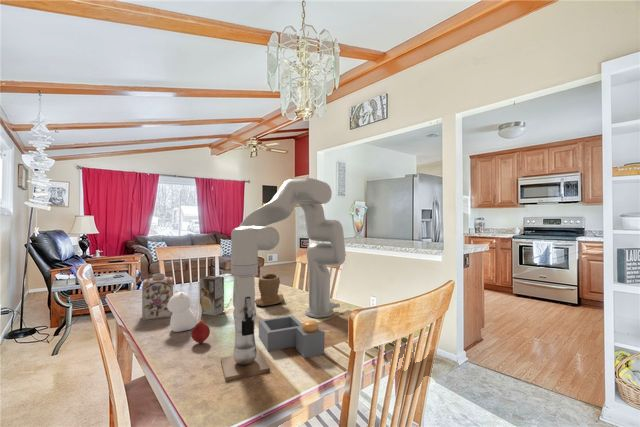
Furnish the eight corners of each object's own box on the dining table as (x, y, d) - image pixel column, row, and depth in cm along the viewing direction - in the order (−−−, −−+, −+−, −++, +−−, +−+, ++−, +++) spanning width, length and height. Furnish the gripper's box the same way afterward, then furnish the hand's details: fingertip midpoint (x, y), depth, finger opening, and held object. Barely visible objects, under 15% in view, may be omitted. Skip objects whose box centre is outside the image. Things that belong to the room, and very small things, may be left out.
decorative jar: (173, 309, 140) (173, 271, 140) (173, 316, 129) (173, 275, 130) (144, 312, 135) (144, 273, 135) (141, 321, 124) (141, 277, 124)
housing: (300, 329, 114) (300, 311, 114) (324, 353, 94) (324, 331, 94) (258, 336, 108) (258, 317, 108) (275, 364, 88) (275, 340, 88)
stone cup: (261, 309, 139) (261, 277, 139) (252, 303, 149) (252, 273, 149) (290, 304, 147) (290, 274, 147) (280, 299, 157) (280, 270, 157)
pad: (260, 353, 94) (260, 350, 94) (269, 371, 83) (269, 368, 83) (220, 361, 90) (220, 357, 90) (225, 381, 79) (225, 377, 79)
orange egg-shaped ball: (314, 337, 99) (314, 319, 99) (320, 343, 95) (320, 324, 95) (300, 340, 97) (300, 321, 97) (305, 346, 93) (305, 326, 93)
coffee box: (224, 311, 136) (224, 276, 136) (215, 316, 130) (215, 279, 130) (209, 309, 139) (209, 275, 140) (198, 313, 133) (198, 277, 134)
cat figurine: (164, 329, 115) (164, 290, 115) (197, 321, 123) (197, 285, 123) (171, 336, 108) (170, 295, 108) (205, 327, 116) (205, 289, 116)
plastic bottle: (251, 368, 83) (251, 297, 83) (228, 366, 84) (229, 295, 84) (260, 358, 89) (260, 291, 90) (239, 356, 91) (239, 290, 91)
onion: (198, 348, 98) (198, 324, 98) (187, 344, 101) (187, 321, 101) (213, 342, 103) (213, 319, 103) (202, 338, 106) (202, 316, 106)
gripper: (227, 266, 93) (227, 321, 93) (235, 276, 77) (235, 342, 77) (251, 264, 96) (251, 317, 96) (264, 274, 80) (264, 337, 80)
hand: (244, 328), depth 87 cm, fingers open, 9 cm apart
